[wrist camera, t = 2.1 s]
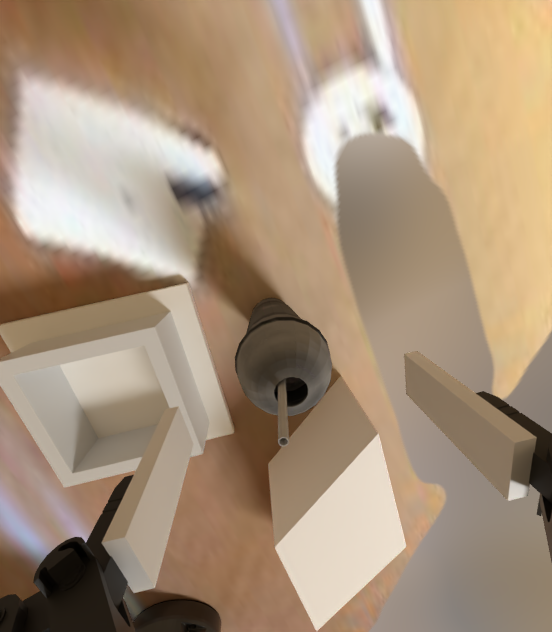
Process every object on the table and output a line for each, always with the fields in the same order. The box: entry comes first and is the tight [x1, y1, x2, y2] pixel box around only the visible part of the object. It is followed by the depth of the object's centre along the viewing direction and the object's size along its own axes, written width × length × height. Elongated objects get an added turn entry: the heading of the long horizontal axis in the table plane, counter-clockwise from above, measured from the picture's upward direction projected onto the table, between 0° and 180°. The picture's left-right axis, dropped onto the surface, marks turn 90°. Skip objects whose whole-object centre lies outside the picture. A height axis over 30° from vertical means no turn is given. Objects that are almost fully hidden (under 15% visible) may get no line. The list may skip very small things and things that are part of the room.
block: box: [268, 376, 406, 631], centre depth 33 cm, size 15×30×11 cm, turn 172°
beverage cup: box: [235, 298, 332, 446], centre depth 21 cm, size 7×7×20 cm
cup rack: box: [0, 282, 234, 488], centre depth 29 cm, size 20×20×6 cm
